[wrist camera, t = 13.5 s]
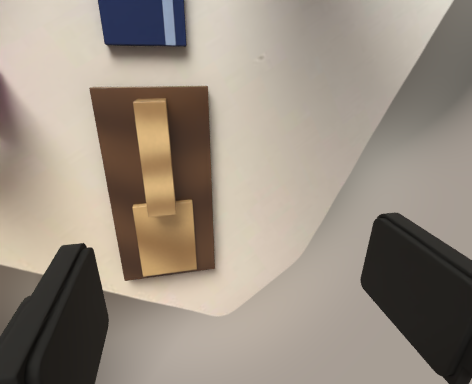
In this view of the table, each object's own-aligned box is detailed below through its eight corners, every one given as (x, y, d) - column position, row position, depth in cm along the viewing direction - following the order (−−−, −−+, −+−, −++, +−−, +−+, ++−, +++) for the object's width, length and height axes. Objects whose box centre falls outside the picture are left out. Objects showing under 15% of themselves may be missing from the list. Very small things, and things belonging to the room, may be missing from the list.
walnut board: (93, 87, 31) (89, 87, 29) (206, 85, 33) (207, 86, 31) (126, 272, 40) (124, 281, 38) (213, 261, 42) (214, 268, 40)
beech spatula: (116, 99, 30) (109, 102, 26) (184, 97, 31) (187, 100, 28) (143, 273, 38) (140, 293, 35) (196, 266, 40) (199, 285, 36)
